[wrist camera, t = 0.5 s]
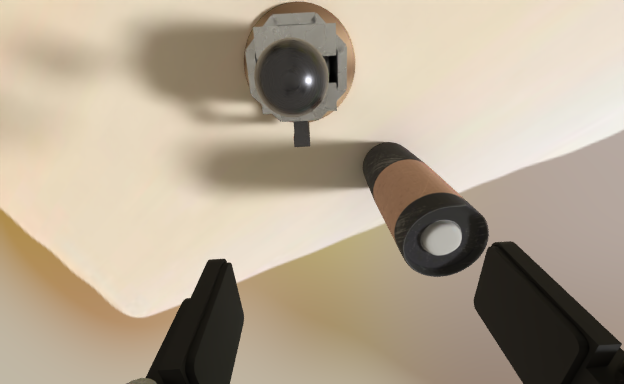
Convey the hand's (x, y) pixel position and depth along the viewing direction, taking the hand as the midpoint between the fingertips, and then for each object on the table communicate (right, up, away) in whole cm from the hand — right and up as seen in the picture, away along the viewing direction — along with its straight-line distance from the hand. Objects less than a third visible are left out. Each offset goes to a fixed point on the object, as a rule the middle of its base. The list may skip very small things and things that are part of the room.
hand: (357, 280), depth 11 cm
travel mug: (+9, +7, +32) cm, 35 cm away
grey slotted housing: (-3, +18, +26) cm, 32 cm away
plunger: (-3, +15, +17) cm, 23 cm away
